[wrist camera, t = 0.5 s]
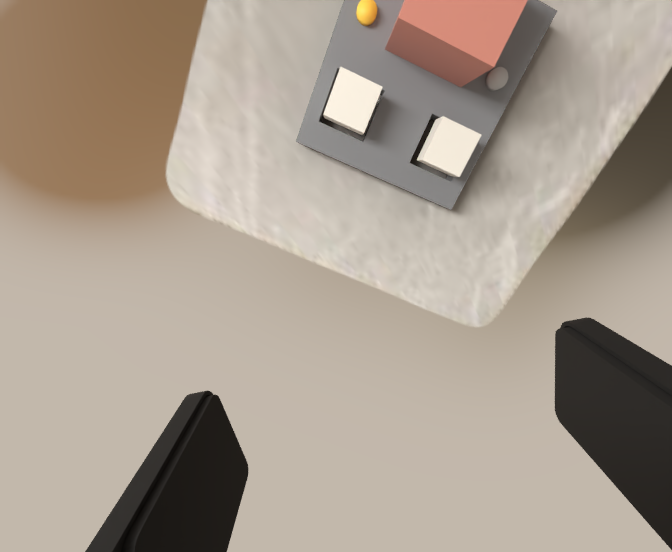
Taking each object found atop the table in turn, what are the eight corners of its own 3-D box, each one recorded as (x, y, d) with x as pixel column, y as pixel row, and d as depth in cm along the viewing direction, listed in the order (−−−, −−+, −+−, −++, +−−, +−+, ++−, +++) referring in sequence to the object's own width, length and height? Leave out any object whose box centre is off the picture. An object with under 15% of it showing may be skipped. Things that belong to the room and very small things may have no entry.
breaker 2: (435, 119, 27) (443, 116, 25) (471, 136, 28) (481, 134, 26) (416, 160, 28) (422, 160, 26) (451, 176, 29) (459, 177, 27)
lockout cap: (426, -56, 24) (454, -125, 18) (507, -10, 24) (558, -62, 19) (384, 49, 26) (398, 17, 20) (460, 87, 27) (494, 67, 21)
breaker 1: (340, 73, 26) (340, 66, 24) (379, 92, 26) (382, 86, 25) (324, 118, 27) (323, 114, 25) (362, 135, 28) (363, 133, 26)
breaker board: (372, -73, 25) (376, -99, 22) (541, 21, 27) (562, 7, 24) (298, 142, 30) (295, 140, 28) (444, 207, 32) (453, 210, 30)
